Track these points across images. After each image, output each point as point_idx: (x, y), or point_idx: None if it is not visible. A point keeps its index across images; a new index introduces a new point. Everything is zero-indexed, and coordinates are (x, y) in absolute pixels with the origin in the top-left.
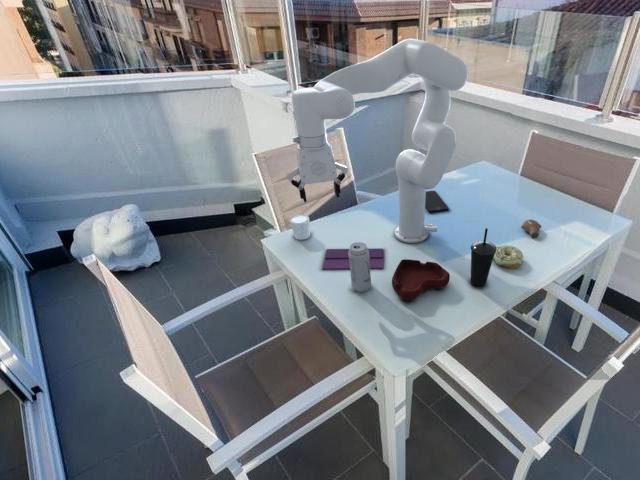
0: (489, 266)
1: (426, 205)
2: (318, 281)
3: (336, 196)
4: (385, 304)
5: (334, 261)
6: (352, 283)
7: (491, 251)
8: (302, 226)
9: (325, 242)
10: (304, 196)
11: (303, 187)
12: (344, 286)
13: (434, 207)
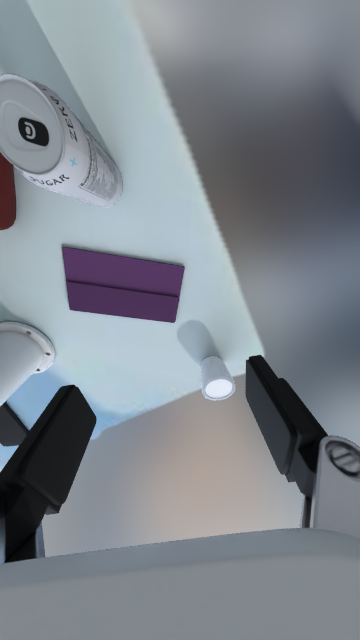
0: None
1: (8, 415)
2: (193, 226)
3: (80, 392)
4: None
5: (161, 285)
6: (115, 166)
7: None
8: (214, 372)
9: (176, 344)
10: (273, 382)
11: (287, 462)
12: (141, 194)
13: None
